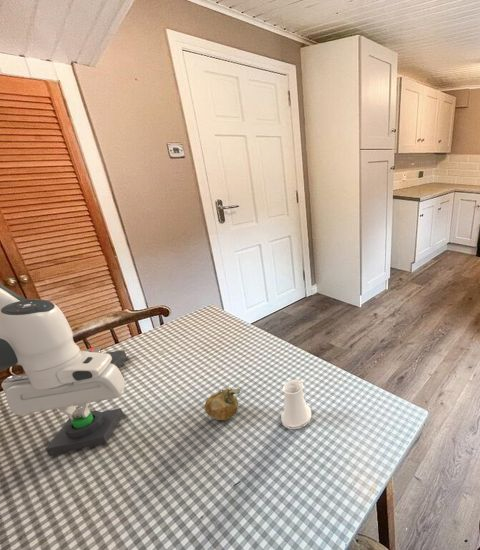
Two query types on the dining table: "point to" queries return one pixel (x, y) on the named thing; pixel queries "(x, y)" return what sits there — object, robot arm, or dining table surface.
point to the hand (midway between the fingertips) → (81, 416)
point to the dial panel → (117, 357)
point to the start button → (82, 421)
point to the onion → (222, 404)
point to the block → (86, 433)
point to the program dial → (94, 350)
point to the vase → (295, 406)
